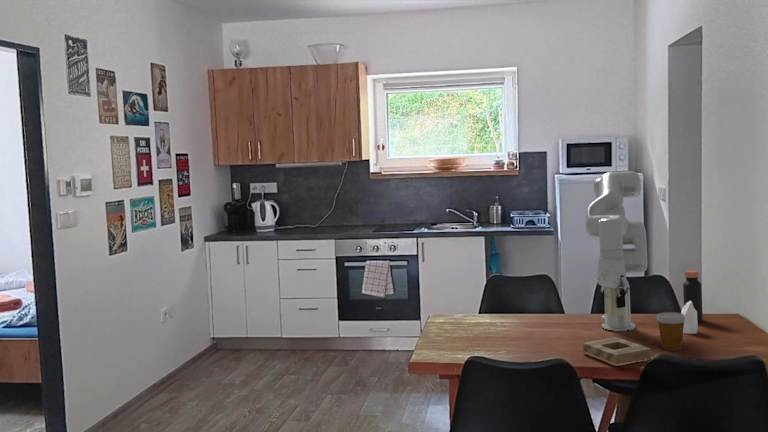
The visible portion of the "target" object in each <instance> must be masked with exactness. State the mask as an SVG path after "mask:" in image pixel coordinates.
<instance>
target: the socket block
mask: <svg viewBox="0 0 768 432" xmlns="http://www.w3.org/2000/svg"><path fill="white" fill-rule="evenodd" d="M582 347H583V350H582V351H583V352H584V351H585V352H588V353H590V354H593V355H596V356H598V357H601V358H603V359H605V360H608V361H610V362H613V363H615V364H619V363H625V362H632V361H639V360H645V359H647V360H648V359H651V360H652V355H651V354H652V353H651V352H652V350H651V348H650V347H647V346H645V345H641V344H639V343H636V342H632V341H629V340H627V339H623V338H621V337H617V336H615V337H613V336H612V337H608V338H604V339H598V340H592V341H588V342H583V343H582Z"/></svg>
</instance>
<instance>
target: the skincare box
mask: <svg viewBox="0 0 768 432" xmlns="http://www.w3.org/2000/svg"><path fill="white" fill-rule="evenodd" d="M621 286H622V283H621V282H620V285H619V287H621ZM619 290H620V291H621V290H622V289H619ZM616 296H618V295H617V292H616V290H615V289H612V288H607V287H604V299H605V304H604V314H605V313H606V314H608V315H609V316H611V317H615V316H623V307H622V308H617V302H616Z"/></svg>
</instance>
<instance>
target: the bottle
mask: <svg viewBox="0 0 768 432" xmlns="http://www.w3.org/2000/svg"><path fill="white" fill-rule="evenodd" d="M699 275H700V274H699V271H698V270H691V269H690V270H686V271H685V272H684V276H685V279H686V280H685V281H684V282H683V283H682V286H683V287H682V290H683V306H684V305H685V304H686V303H687V302H688V301H692V303H693V307H694V308H695V310H696V311H697V322H698V323H702V322H703V319H704V317H703V294H702V293H703V292H702V291H703V290H702V283H701V281H699V280H698V279H699Z"/></svg>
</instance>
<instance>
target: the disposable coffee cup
mask: <svg viewBox="0 0 768 432" xmlns="http://www.w3.org/2000/svg"><path fill="white" fill-rule="evenodd" d="M656 320H657V324H658V329H659V335H660V341H661V347H662V349H663V350H665V351H671V352H672V351H674V352H675V351H680V350H682V348H683V347H682V346H683V335H684V333H683V328H684V321H685V317H684V315H683V314H682V313H681V312H677V311H676V312H675V311H674V312H673V311H665V312H659V313H658V314H657V315H656Z"/></svg>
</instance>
